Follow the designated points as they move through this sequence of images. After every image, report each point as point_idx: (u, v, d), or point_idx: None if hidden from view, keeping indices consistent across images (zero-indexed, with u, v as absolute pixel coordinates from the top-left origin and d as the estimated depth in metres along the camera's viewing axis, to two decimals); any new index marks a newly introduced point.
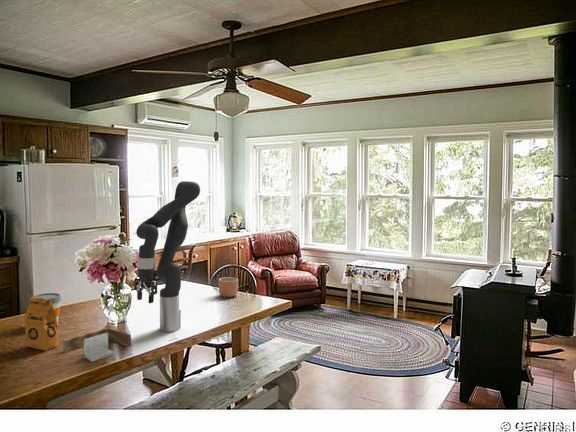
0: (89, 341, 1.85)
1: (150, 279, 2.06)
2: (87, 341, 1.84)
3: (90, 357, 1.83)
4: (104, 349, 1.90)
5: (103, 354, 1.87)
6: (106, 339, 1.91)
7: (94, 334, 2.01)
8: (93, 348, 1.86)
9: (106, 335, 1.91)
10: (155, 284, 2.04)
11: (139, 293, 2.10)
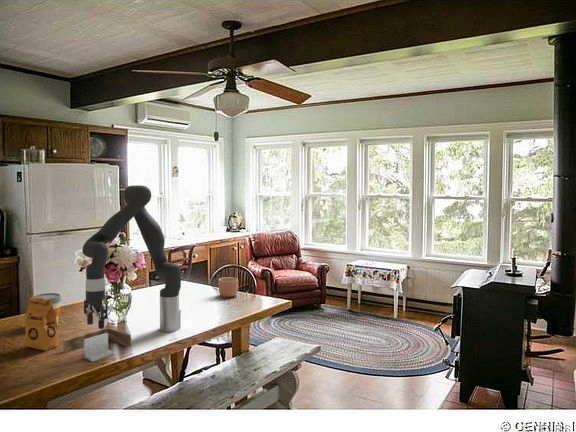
0: (89, 341, 1.85)
1: (99, 302, 1.84)
2: (87, 341, 1.84)
3: (90, 357, 1.83)
4: (104, 349, 1.90)
5: (103, 354, 1.87)
6: (106, 339, 1.91)
7: (94, 334, 2.01)
8: (93, 348, 1.86)
9: (106, 335, 1.91)
10: (105, 308, 1.83)
11: (89, 317, 1.89)
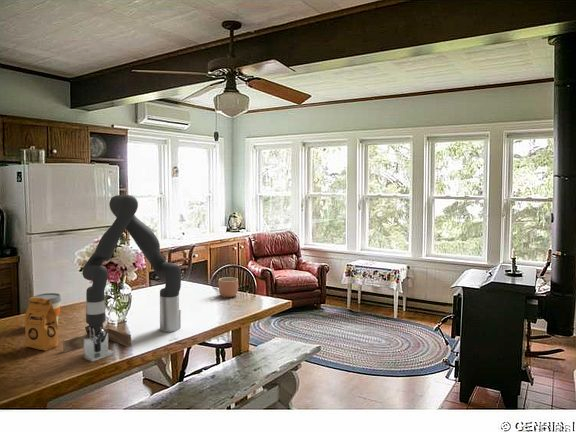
0: (89, 341, 1.85)
1: (100, 325, 1.85)
2: (87, 341, 1.84)
3: (90, 357, 1.83)
4: (104, 349, 1.90)
5: (103, 354, 1.86)
6: (106, 339, 1.91)
7: None
8: (93, 348, 1.86)
9: (106, 335, 1.91)
10: (104, 335, 1.84)
11: None
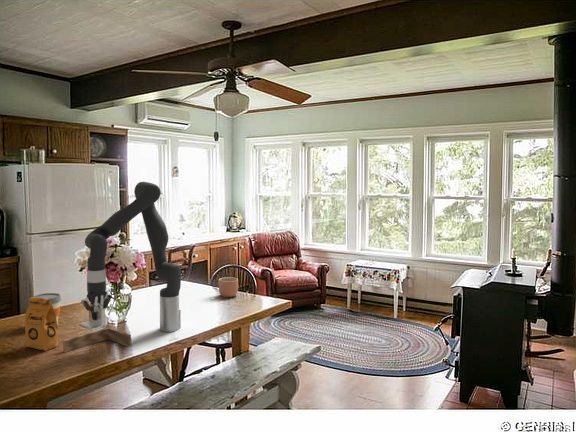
0: None
1: (88, 293, 1.88)
2: None
3: (85, 322, 1.93)
4: (99, 323, 1.90)
5: (88, 325, 1.89)
6: (100, 314, 1.89)
7: (94, 334, 2.01)
8: None
9: (100, 310, 1.89)
10: (84, 304, 1.87)
11: None
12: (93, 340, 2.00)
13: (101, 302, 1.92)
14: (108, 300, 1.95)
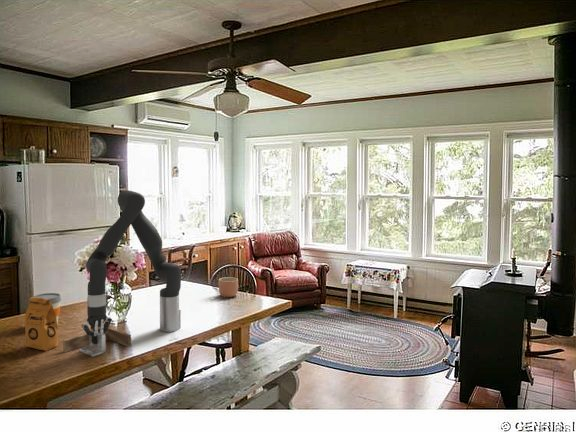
0: None
1: (88, 317, 1.89)
2: None
3: (85, 347, 1.93)
4: (99, 349, 1.91)
5: (89, 351, 1.89)
6: (100, 340, 1.90)
7: None
8: None
9: (100, 336, 1.89)
10: (84, 328, 1.87)
11: None
12: None
13: (101, 326, 1.92)
14: (108, 323, 1.96)
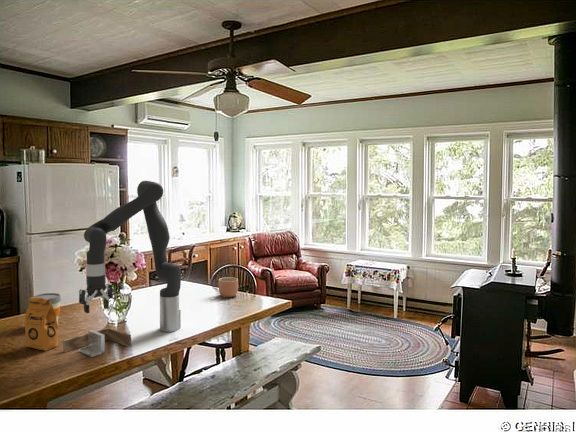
0: (90, 333, 1.94)
1: (87, 287, 1.88)
2: (89, 332, 1.94)
3: (84, 347, 1.93)
4: (98, 349, 1.90)
5: (88, 351, 1.89)
6: (100, 340, 1.89)
7: None
8: (92, 342, 1.93)
9: (100, 336, 1.89)
10: (81, 293, 1.85)
11: (104, 301, 1.95)
12: None
13: (104, 294, 1.93)
14: (111, 290, 1.96)
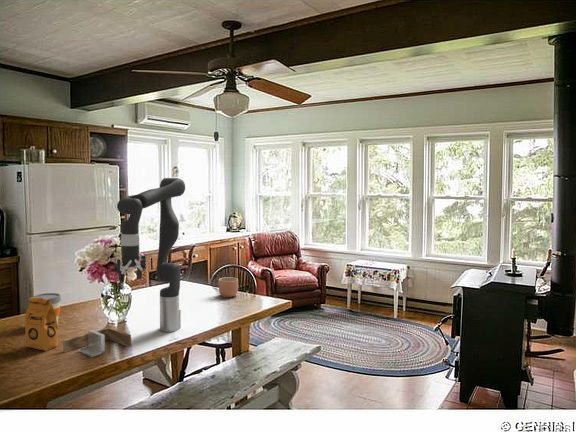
0: (90, 333, 1.94)
1: (122, 256, 1.91)
2: (89, 332, 1.94)
3: (84, 347, 1.93)
4: (98, 349, 1.90)
5: (88, 351, 1.89)
6: (100, 340, 1.89)
7: None
8: (92, 342, 1.93)
9: (100, 336, 1.89)
10: (116, 262, 1.88)
11: (137, 272, 1.98)
12: None
13: (137, 264, 1.95)
14: (144, 261, 1.98)
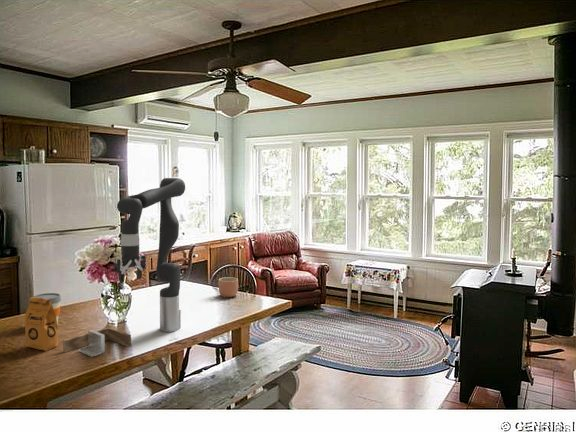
0: (90, 333, 1.94)
1: (122, 256, 1.91)
2: (89, 332, 1.94)
3: (84, 347, 1.93)
4: (98, 349, 1.90)
5: (88, 351, 1.89)
6: (100, 340, 1.89)
7: None
8: (92, 342, 1.93)
9: (100, 336, 1.89)
10: (116, 262, 1.88)
11: (137, 272, 1.98)
12: None
13: (137, 264, 1.95)
14: (144, 261, 1.98)
